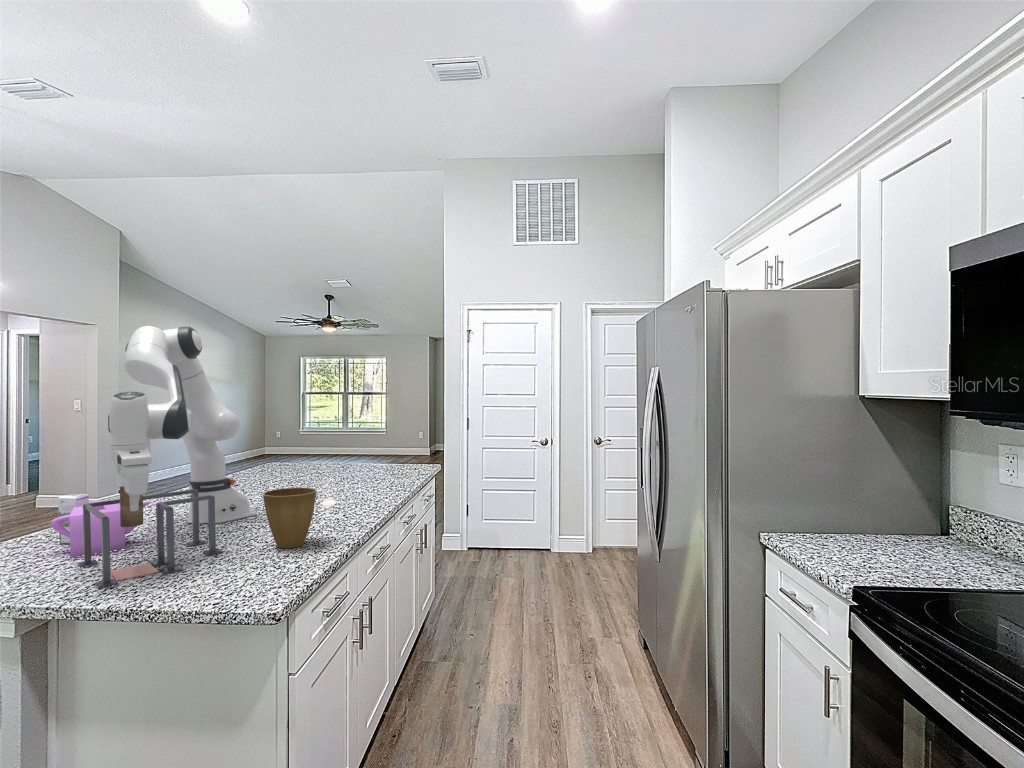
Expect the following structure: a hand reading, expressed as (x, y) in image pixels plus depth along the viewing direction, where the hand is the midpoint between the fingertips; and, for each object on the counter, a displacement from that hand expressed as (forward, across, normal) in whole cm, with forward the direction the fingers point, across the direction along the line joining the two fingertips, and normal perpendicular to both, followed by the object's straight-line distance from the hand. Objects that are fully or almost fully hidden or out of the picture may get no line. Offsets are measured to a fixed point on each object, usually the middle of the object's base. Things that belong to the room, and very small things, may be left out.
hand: (131, 508), depth 154 cm
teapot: (+17, -34, -2) cm, 38 cm away
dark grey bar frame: (+16, -5, +6) cm, 18 cm away
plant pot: (+16, +4, +40) cm, 43 cm away
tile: (+16, 0, 0) cm, 16 cm away
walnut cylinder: (+4, 0, 0) cm, 4 cm away
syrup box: (+16, -48, -7) cm, 51 cm away
